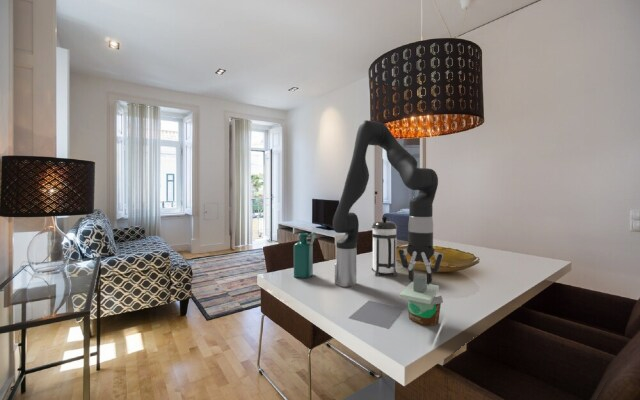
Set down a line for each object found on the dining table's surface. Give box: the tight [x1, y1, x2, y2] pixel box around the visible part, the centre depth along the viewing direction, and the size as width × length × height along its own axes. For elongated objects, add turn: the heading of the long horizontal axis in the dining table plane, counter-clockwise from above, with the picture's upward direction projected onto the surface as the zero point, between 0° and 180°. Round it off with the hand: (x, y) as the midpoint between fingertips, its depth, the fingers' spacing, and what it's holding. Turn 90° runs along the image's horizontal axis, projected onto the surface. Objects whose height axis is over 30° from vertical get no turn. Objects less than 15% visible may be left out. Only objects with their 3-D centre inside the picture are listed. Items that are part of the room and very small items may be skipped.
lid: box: [399, 273, 440, 304], centre depth 91 cm, size 9×15×6 cm, turn 147°
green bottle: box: [293, 232, 316, 279], centre depth 143 cm, size 10×8×22 cm
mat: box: [348, 299, 406, 330], centre depth 98 cm, size 14×18×1 cm
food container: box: [407, 295, 444, 327], centre depth 91 cm, size 12×6×10 cm, turn 45°
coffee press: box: [371, 215, 398, 277], centre depth 145 cm, size 17×16×30 cm
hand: (420, 282), depth 91 cm, fingers open, 4 cm apart
